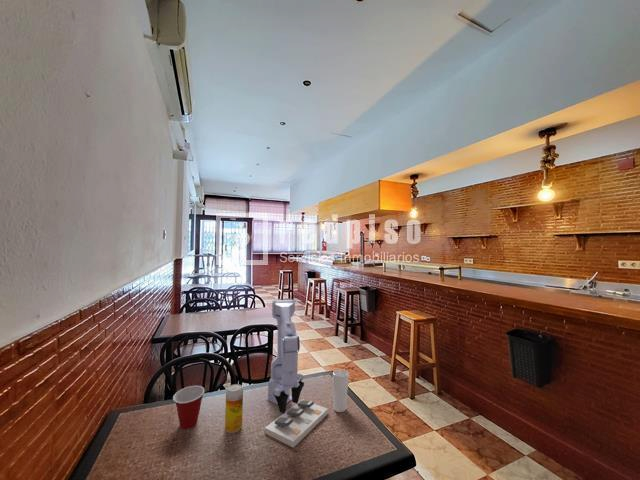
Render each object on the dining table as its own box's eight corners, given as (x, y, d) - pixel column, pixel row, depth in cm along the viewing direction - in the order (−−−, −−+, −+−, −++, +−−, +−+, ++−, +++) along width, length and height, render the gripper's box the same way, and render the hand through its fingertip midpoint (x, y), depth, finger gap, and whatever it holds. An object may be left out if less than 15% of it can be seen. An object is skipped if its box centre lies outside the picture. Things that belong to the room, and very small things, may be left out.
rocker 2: (287, 414, 106) (286, 411, 106) (292, 410, 109) (291, 407, 109) (299, 416, 103) (298, 413, 103) (304, 412, 106) (303, 409, 106)
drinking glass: (347, 405, 117) (348, 370, 118) (347, 414, 111) (348, 377, 111) (331, 404, 118) (333, 368, 119) (330, 413, 111) (332, 375, 112)
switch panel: (264, 433, 99) (265, 426, 99) (302, 403, 118) (302, 397, 118) (293, 447, 92) (293, 440, 92) (327, 413, 111) (327, 407, 111)
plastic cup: (165, 428, 100) (166, 395, 101) (191, 413, 110) (192, 383, 110) (184, 438, 95) (185, 403, 96) (209, 421, 105) (210, 389, 105)
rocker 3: (297, 406, 112) (297, 403, 112) (302, 402, 115) (301, 399, 115) (309, 407, 109) (309, 404, 109) (313, 403, 111) (313, 401, 112)
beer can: (236, 435, 97) (238, 392, 98) (221, 432, 99) (222, 390, 99) (244, 424, 103) (246, 384, 104) (230, 422, 104) (231, 382, 105)
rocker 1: (274, 424, 100) (274, 421, 100) (280, 419, 103) (280, 416, 103) (287, 426, 97) (287, 423, 97) (293, 421, 100) (292, 418, 100)
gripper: (285, 380, 91) (284, 421, 91) (309, 365, 104) (309, 401, 103) (269, 374, 95) (268, 414, 94) (295, 360, 107) (294, 396, 107)
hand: (288, 407), depth 99 cm, fingers open, 7 cm apart
